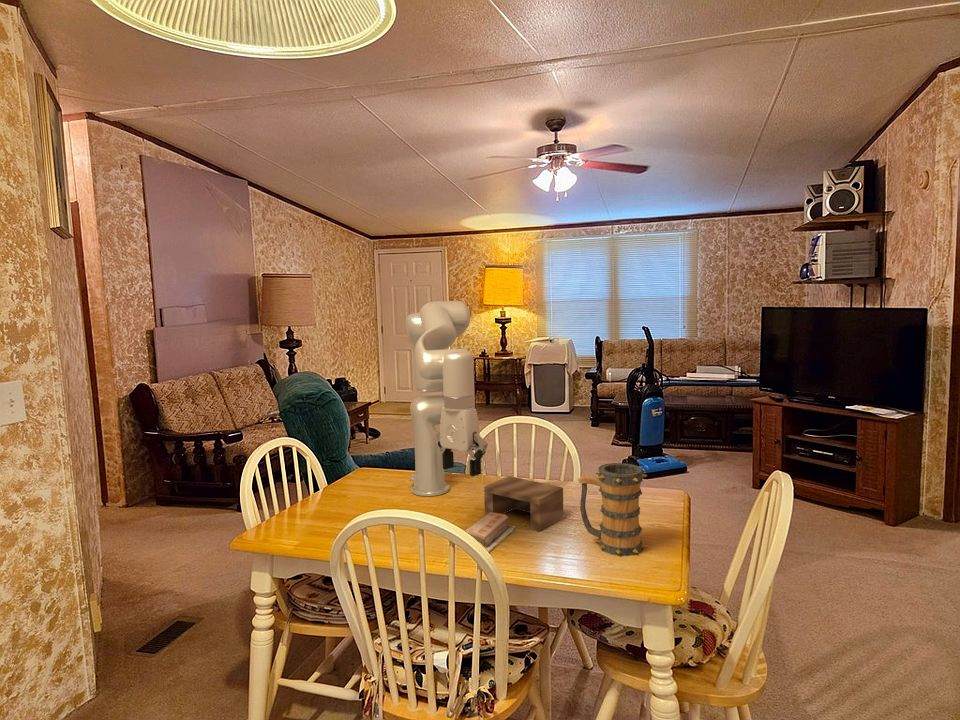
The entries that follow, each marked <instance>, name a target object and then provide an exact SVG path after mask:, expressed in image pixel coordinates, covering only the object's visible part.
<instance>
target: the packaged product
mask: <svg viewBox="0 0 960 720" xmlns="http://www.w3.org/2000/svg"><path fill="white" fill-rule="evenodd" d="M509 518H510V517H509V516H508V515H507V514H506V513H504V514H501V513H494V512H489V513H487V514H486V515H485V514H484V515H483V516H481V518H479V519H478V520H476V521H475V522H474V523H473V524H471V525H470V526H468V527H467V528H466V529H465V530H463V531H465V532H467V533H468V534H470V535H471V536H473V537H474V538H475V539H476V540H477V541H478V542H480V543H481V544H482V545H483V546H484V547H485V548H486V549H487V550H489V552H490V551H491V552H492V550H493V549H495V548H496V547H497V546H498V545H499V544H498V543H500V542H501V541H502V540H503V539H504V538H506V537H507V538H508V537H509V536H510V535H511V534H510V533H514V532H515V530H516V528H517V527H516V526H514V525H513V526H512V525H510V519H509ZM509 534H510V535H509ZM508 535H509V536H508ZM507 538H506V539H507ZM503 541H504V540H503ZM503 541H502V542H503ZM502 542H501V543H502ZM501 543H500V544H501ZM497 544H498V545H497ZM496 545H497V546H496ZM495 546H496V547H495ZM494 547H495V548H494ZM456 548H457V549H458V550H457V549H456V550H457V551H461V550H460V549H459V548H458V547H456Z"/></svg>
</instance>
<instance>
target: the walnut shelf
mask: <svg viewBox="0 0 960 720" xmlns="http://www.w3.org/2000/svg"><path fill="white" fill-rule="evenodd" d="M483 492H484V494H483V496H484V497H483V499H484V500H483V501H484V516H485V515H486V514H487V513H489V512H494V513H501V514H503V513H504V514H506V513H508V512H510V511H512V510H515V508H516V510H519V509H520V510H521V511H523V510H525V511H524V512H527V511H528V513H530V530H531V529H532V530H531V531H535V530H536V531H535V532H540V531H541V532H542V531H544V530H545V529H548V528H549V527H551V526H553V525H554V523H555V524H556V523H558V522H559V520H560V521H561V520H563V519H564V487H563V486H558V485H552V484H549V483H548V484H547V483H543V482H540V481H539V482H538V481H535V480H529V479H523V478H519V477H515V476H511V475H507V476H506V477H503V478H501V479H499V480H496V481H494V482H491V483H489V484H487V485H484V486H483ZM511 509H512V510H511ZM509 510H510V511H509ZM520 510H519V511H520ZM507 511H508V512H507ZM505 512H506V513H505ZM562 518H563V519H562ZM547 527H548V528H547Z"/></svg>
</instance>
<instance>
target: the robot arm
mask: <svg viewBox="0 0 960 720" xmlns="http://www.w3.org/2000/svg"><path fill="white" fill-rule="evenodd" d="M470 322H471V313H470V309H469V307H468V305H467V304H466V302H464V301H461V300H440V301H439V300H438V301H437V300H435V301H428V302H427V303H425V304H424V305H422V306H421V308H420V311H419V312H413V313H410V314H408V315H407V317H406V318H405V322H404V323H405V331H406V335H407V338H408V340H409V343H410V345H411V348H412V354H413V356H412V359H413V362H412V363H413V381H414V387H415V389H416V391H417V392H420V393H439V392H443V394H431V395H422V396H417V397H415V398H413V400H412V401H411V402H410V406H409V409H410V417H411V423H412V428H413V438H414V439H413V440H414V461H415V463H414V465H415V466H414V467H415V468H414V469H415V470H414V471H415V473H412V475H411V476H410V477H409V478H408V479H409V480H408V481H410V482H413V486H411V493H412V494H414V495H417V496H422V497H434V496H435V497H436V496H440V495H444V494H446V493H448V492H449V491H450V487H451V486H450V484H448V483H447V482H446V481H445V478H446V477H445V476H446V475H445V470H447V469H451V468H454V466H455V463H454V451H458V452H461V453H462V452H463V453H465V452H467V454H468V455H469V456H470V459H469V476H470V477H471V478H472V477H476V476H480V475H481V474H482V458H483V456H484V455H485V453H486V451H487V448H488V445H489V444H488V441H486V440H485V439H484V438H483V437H482V436H481V435H480V423H479V417H478V412H477V409H476V401H475V400H476V398H475V395H476V394H475V370H474V368H475V362H474V360H475V359H474V356H473V354H472V353H471V352H470V351H469V350H468V349H465V348H454V349H453V348H452V349H449V347H452V345H454V343H455V342H456V340H457V338H458V339H459V338H460V337H461V336H462V335H463V334H464V333H465V331H466V330H467V329H468V328H469V327H470V324H471V323H470ZM436 425H439V429H437V428H436ZM452 450H453V451H452Z"/></svg>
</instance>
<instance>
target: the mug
mask: <svg viewBox="0 0 960 720" xmlns="http://www.w3.org/2000/svg"><path fill="white" fill-rule="evenodd" d="M643 471H644V470H643V469H642V467H640V466H638V465H635V464H631V463H624V462H612V463H605V464H601V465H599V467H598V470H597V471H594V472H593V473H594V474H595V475H597V476H598V477H596V476H594V475H593V476H591V475H586V474H585V475H583V474H582V475H581V476H580V477H578V478H576V480H577V482H578V483H579V484H581V494H580V495H581V496H580V503H579V504H580V507H579V508H580V509H579V511H580V514H581V519H582V522H583V524H584V525H583V526H584V527H585V529H586V531H587V532H588V533H589V534H590V535H592V536H594V537H596V538H597V539H596V540H594V542H596V543H598V549H600V550H601V551H603V552H605V553H607V554H609V555H613V556H617V557H622V556H623V557H629V556H635V555H637V554H640V553H641V552H642V550H643V548H646V547H647V545H646V544H644V543H643V540H642V538H641V533H642V531H643V528H642V527H641V526H640V525H641V524H640V520H639V518H640V517H639V515H640V514H641V513H640V511H641V507H640V506H639V502H640V501H639V500H640V497H641V496H642V495H643V492H642V490H641V483H642V482H643V479H644V478H645V477H648V475H647V474H645V473H644V472H643ZM588 485H593V486H597V487H599V489H598V491H599V492H600V494H601V497H602V498H601V499H602V504H601V505H600V507H601V509H600V512H601V513H602V517H601V518H602V520H601V522H600V523H599V529H598V528H595V527H593V526H592V525H591V523H590V521H589V518H588V514H587V509H586V505H587V504H586V501H587V493H588V492H587V491H588Z"/></svg>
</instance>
